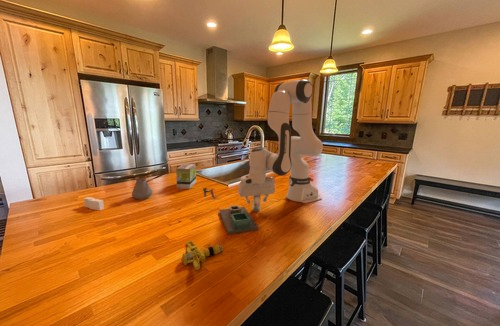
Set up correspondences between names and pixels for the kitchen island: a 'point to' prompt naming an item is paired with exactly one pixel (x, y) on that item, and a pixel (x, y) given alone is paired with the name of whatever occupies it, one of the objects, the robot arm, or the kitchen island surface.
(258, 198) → the fitting
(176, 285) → the kitchen island surface
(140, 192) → the coffee pot
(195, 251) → the sprinkler
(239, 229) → the manifold plate
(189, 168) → the tea box
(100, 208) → the white rectangular block
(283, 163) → the robot arm
